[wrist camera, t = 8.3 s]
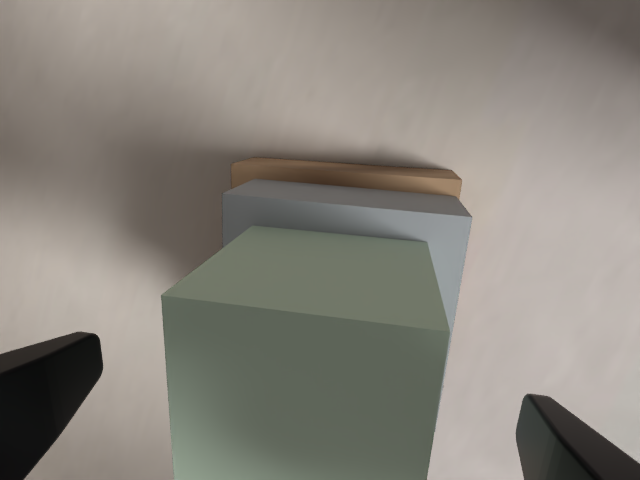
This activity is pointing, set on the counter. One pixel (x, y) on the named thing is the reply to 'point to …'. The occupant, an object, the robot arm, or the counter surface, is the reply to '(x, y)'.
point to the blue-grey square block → (359, 221)
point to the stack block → (305, 359)
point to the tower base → (348, 175)
